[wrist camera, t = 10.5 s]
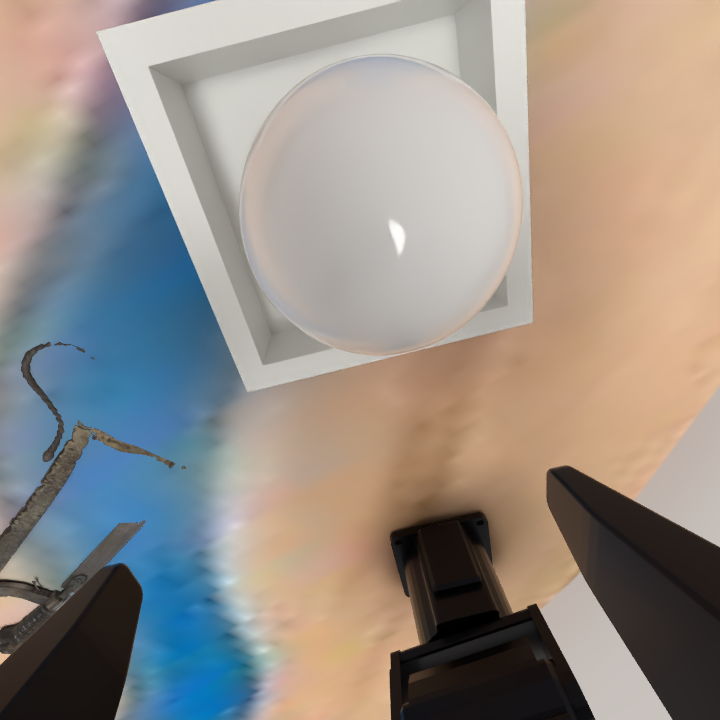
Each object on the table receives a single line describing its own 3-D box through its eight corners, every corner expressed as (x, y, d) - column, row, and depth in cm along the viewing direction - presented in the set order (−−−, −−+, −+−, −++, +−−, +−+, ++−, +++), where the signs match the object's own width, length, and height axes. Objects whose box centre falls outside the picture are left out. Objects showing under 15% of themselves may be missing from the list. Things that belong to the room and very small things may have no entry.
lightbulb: (457, 161, 16) (669, 164, 7) (379, 295, 19) (451, 449, 9) (316, 66, 14) (318, -126, 5) (248, 228, 17) (154, 326, 7)
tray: (494, 293, 20) (533, 322, 16) (259, 350, 20) (247, 392, 17) (472, -21, 14) (523, -80, 11) (150, 62, 15) (96, 32, 11)
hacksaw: (29, 642, 29) (15, 666, 28) (-139, 588, 25) (-164, 612, 24) (233, 434, 23) (228, 451, 21) (51, 320, 19) (31, 332, 18)
